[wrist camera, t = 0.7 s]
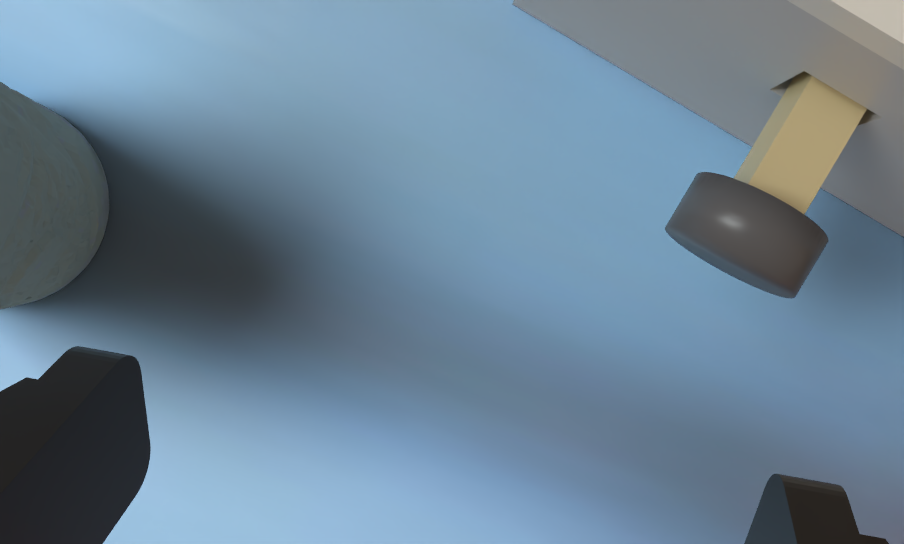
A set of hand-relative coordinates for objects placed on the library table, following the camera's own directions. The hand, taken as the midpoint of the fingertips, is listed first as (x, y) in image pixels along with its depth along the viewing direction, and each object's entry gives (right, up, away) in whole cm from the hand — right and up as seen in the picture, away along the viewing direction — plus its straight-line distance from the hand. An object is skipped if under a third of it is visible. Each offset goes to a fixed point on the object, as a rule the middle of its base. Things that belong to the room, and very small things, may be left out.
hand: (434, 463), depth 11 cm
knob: (+11, +6, +19) cm, 23 cm away
